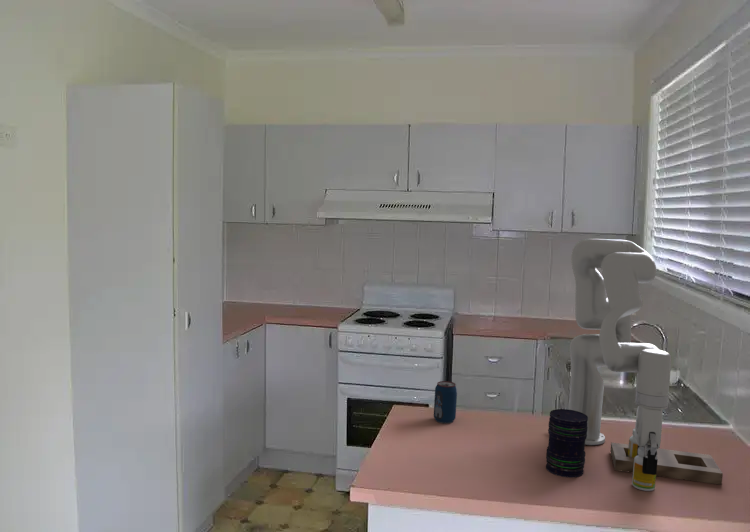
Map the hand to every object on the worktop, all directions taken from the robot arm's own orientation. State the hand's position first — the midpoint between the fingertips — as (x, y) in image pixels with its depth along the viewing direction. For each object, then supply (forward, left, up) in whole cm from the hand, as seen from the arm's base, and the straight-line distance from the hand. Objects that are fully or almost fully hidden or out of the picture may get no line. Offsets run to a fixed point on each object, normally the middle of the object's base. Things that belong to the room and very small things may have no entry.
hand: (646, 466), depth 167 cm
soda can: (-55, +31, -6) cm, 64 cm away
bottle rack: (+7, +15, -6) cm, 18 cm away
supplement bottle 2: (0, 0, -6) cm, 6 cm away
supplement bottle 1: (0, +15, -6) cm, 16 cm away
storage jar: (-19, +4, -6) cm, 20 cm away
